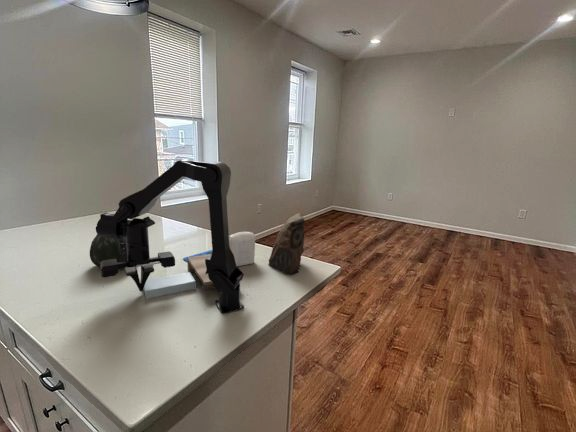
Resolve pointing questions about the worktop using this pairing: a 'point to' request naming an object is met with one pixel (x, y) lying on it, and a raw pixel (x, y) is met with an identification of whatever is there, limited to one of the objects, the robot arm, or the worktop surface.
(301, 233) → the owl
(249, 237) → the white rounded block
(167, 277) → the pale blue eraser
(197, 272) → the tan cardboard box
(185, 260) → the handheld gaming device
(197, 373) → the worktop surface
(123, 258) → the squash
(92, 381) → the worktop surface
